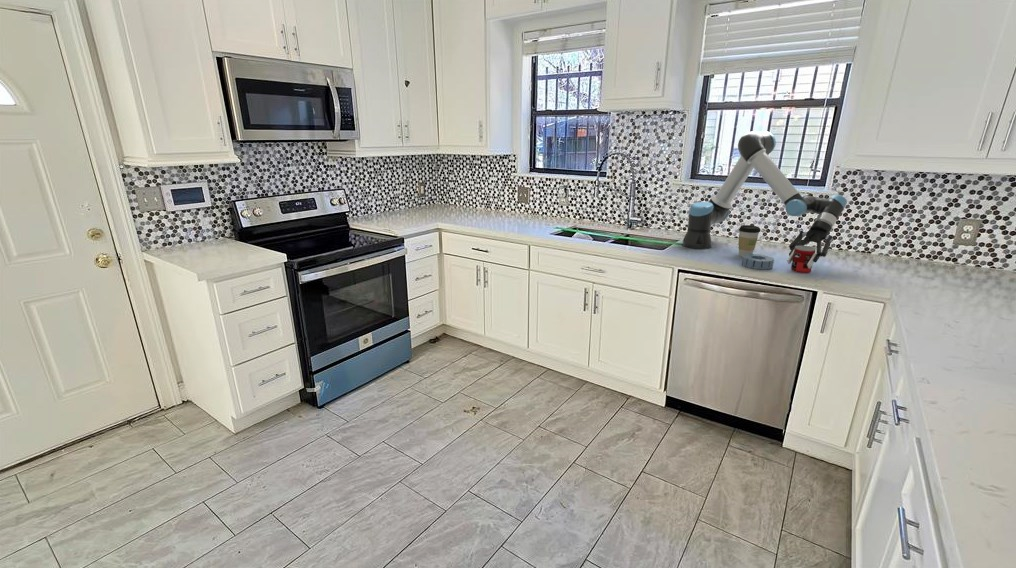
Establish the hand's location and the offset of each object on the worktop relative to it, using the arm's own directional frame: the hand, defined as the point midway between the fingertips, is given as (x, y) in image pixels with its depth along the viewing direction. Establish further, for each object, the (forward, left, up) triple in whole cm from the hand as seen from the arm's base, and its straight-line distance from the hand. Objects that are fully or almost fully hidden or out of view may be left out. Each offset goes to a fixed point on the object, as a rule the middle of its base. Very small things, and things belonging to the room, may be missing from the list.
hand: (798, 264), depth 210 cm
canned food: (0, +3, -4) cm, 5 cm away
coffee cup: (-29, +7, -4) cm, 30 cm away
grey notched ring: (-16, -5, -4) cm, 17 cm away
